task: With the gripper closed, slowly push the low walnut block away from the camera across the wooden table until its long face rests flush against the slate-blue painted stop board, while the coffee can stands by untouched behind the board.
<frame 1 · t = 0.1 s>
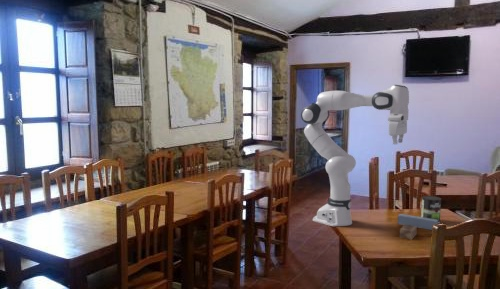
hand: (397, 143, 206), 48 cm above the table, fingers open, 8 cm apart
walnut block: (408, 236, 207), on the table
coffee can: (430, 221, 231), on the table
stop board: (417, 226, 222), on the table
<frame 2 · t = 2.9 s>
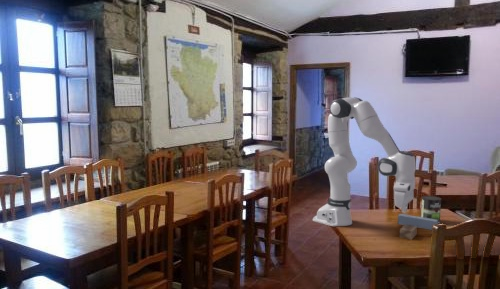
hand: (404, 212, 196), 15 cm above the table, fingers closed
nothing on the table moved.
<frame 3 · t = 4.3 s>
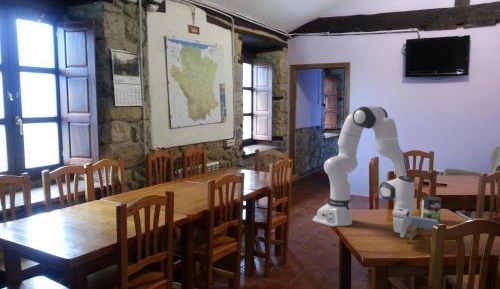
hand: (402, 236, 198), 3 cm above the table, fingers closed
nothing on the table moved.
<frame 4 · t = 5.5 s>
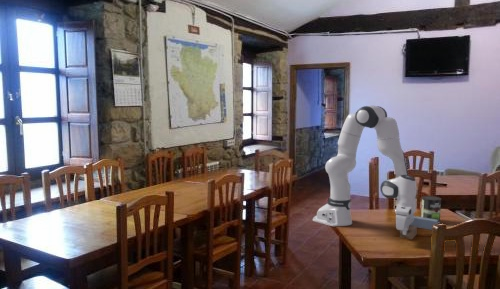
hand: (405, 234, 202), 3 cm above the table, fingers closed
walnut block: (408, 235, 207), on the table, touching gripper
everything else where it was.
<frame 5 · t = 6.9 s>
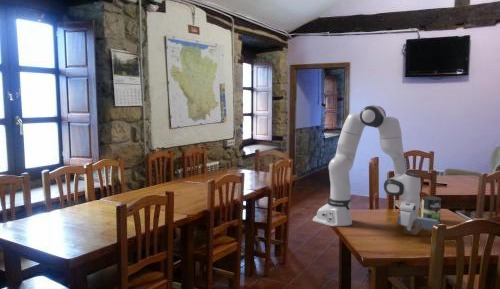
hand: (409, 229, 208), 3 cm above the table, fingers closed
walnut block: (412, 231, 214), on the table, touching gripper
everything else where it was.
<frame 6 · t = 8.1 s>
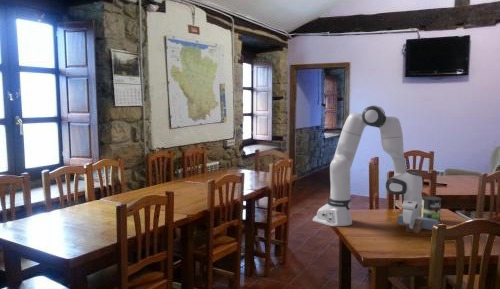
hand: (411, 227, 211), 3 cm above the table, fingers closed
walnut block: (414, 229, 217), on the table, touching gripper, stop board
everything else where it was.
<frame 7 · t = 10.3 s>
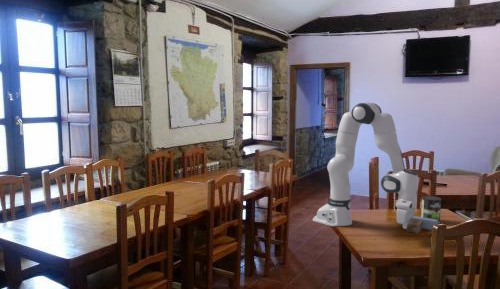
hand: (405, 227, 204), 5 cm above the table, fingers closed
walnut block: (414, 230, 217), on the table
everything else where it was.
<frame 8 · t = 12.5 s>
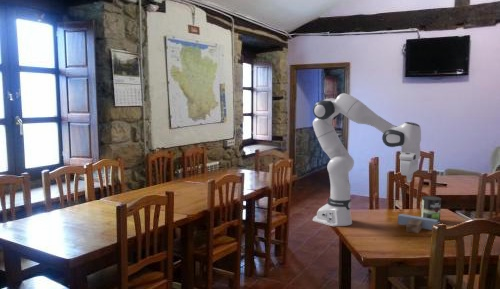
hand: (409, 181, 201), 29 cm above the table, fingers closed
nothing on the table moved.
at the end: walnut block inside the target area on the table beside the stop board (0.9 cm from its centre), on the table; walnut block tilted 0° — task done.
